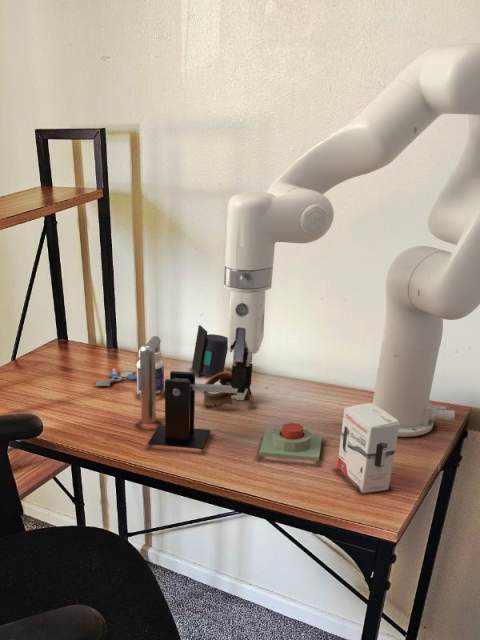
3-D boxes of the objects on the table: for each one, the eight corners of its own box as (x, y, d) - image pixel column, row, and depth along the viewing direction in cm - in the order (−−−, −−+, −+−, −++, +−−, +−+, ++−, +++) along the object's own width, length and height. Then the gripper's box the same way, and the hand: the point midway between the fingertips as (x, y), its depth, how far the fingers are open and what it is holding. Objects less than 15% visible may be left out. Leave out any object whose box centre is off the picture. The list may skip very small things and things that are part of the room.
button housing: (321, 443, 128) (323, 425, 126) (318, 466, 121) (320, 447, 119) (264, 438, 131) (266, 421, 129) (258, 460, 123) (259, 442, 122)
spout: (167, 412, 144) (167, 333, 135) (156, 431, 136) (156, 348, 128) (146, 410, 145) (145, 332, 136) (134, 429, 137) (132, 347, 129)
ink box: (334, 470, 119) (343, 405, 113) (362, 466, 120) (372, 401, 113) (360, 494, 112) (371, 426, 106) (389, 490, 112) (402, 422, 106)
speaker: (189, 377, 159) (195, 331, 154) (191, 369, 164) (196, 324, 159) (223, 380, 158) (230, 334, 153) (224, 373, 163) (230, 328, 158)
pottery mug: (259, 416, 140) (243, 387, 135) (215, 434, 144) (198, 406, 139) (253, 380, 149) (238, 351, 144) (212, 398, 152) (195, 370, 148)
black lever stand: (210, 435, 133) (212, 370, 127) (202, 454, 127) (204, 386, 120) (158, 431, 136) (158, 367, 130) (148, 449, 130) (147, 382, 123)
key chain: (99, 389, 156) (99, 386, 156) (82, 379, 162) (82, 375, 162) (153, 376, 161) (153, 373, 161) (135, 366, 168) (135, 363, 167)
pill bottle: (168, 397, 150) (168, 352, 145) (144, 402, 148) (143, 357, 143) (156, 389, 155) (156, 344, 150) (132, 393, 153) (131, 349, 148)
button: (303, 432, 125) (304, 423, 124) (301, 441, 122) (302, 432, 121) (282, 431, 126) (283, 422, 125) (280, 439, 123) (281, 430, 122)
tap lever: (248, 390, 125) (249, 377, 124) (243, 403, 121) (244, 390, 119) (176, 386, 129) (176, 373, 128) (168, 398, 124) (168, 385, 123)
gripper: (266, 290, 106) (257, 404, 115) (276, 267, 118) (268, 373, 127) (216, 288, 108) (211, 401, 117) (231, 266, 120) (226, 370, 129)
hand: (241, 386), depth 122 cm, fingers closed
